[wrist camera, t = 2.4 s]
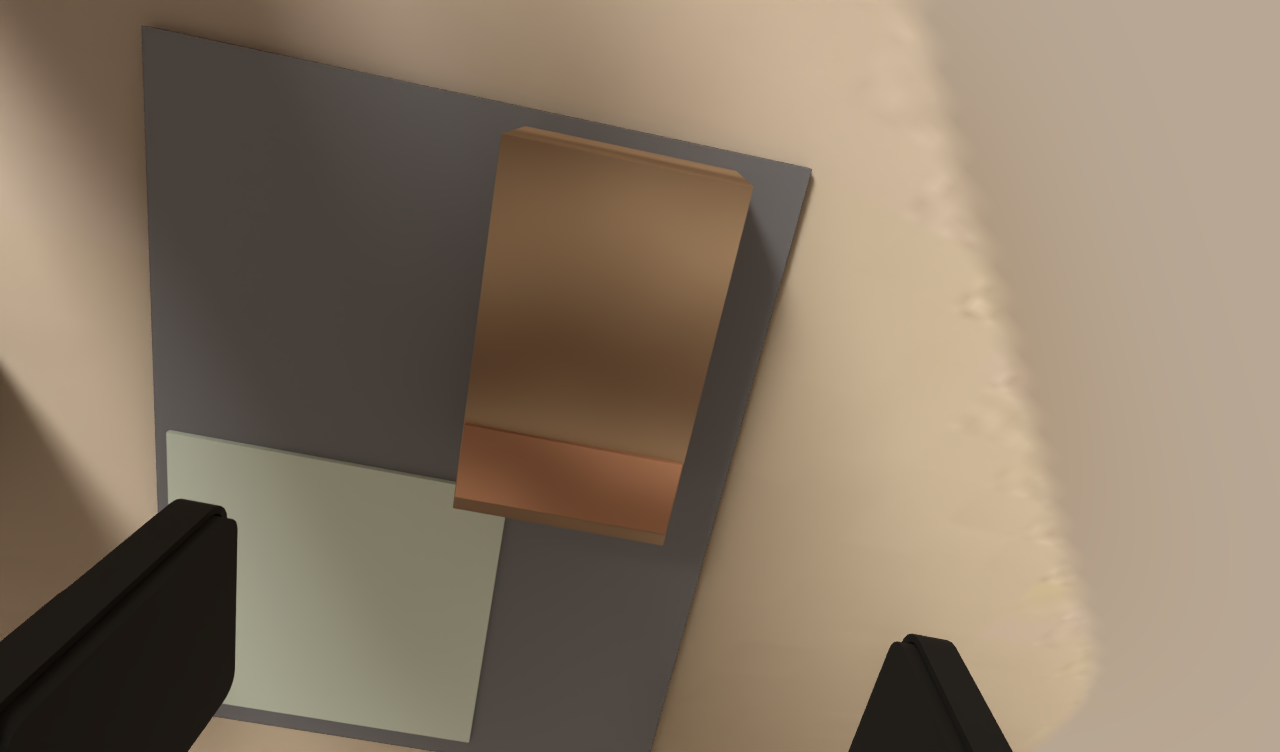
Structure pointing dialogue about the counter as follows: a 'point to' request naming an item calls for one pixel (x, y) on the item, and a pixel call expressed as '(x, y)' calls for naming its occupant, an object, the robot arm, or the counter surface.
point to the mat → (399, 410)
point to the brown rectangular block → (594, 331)
